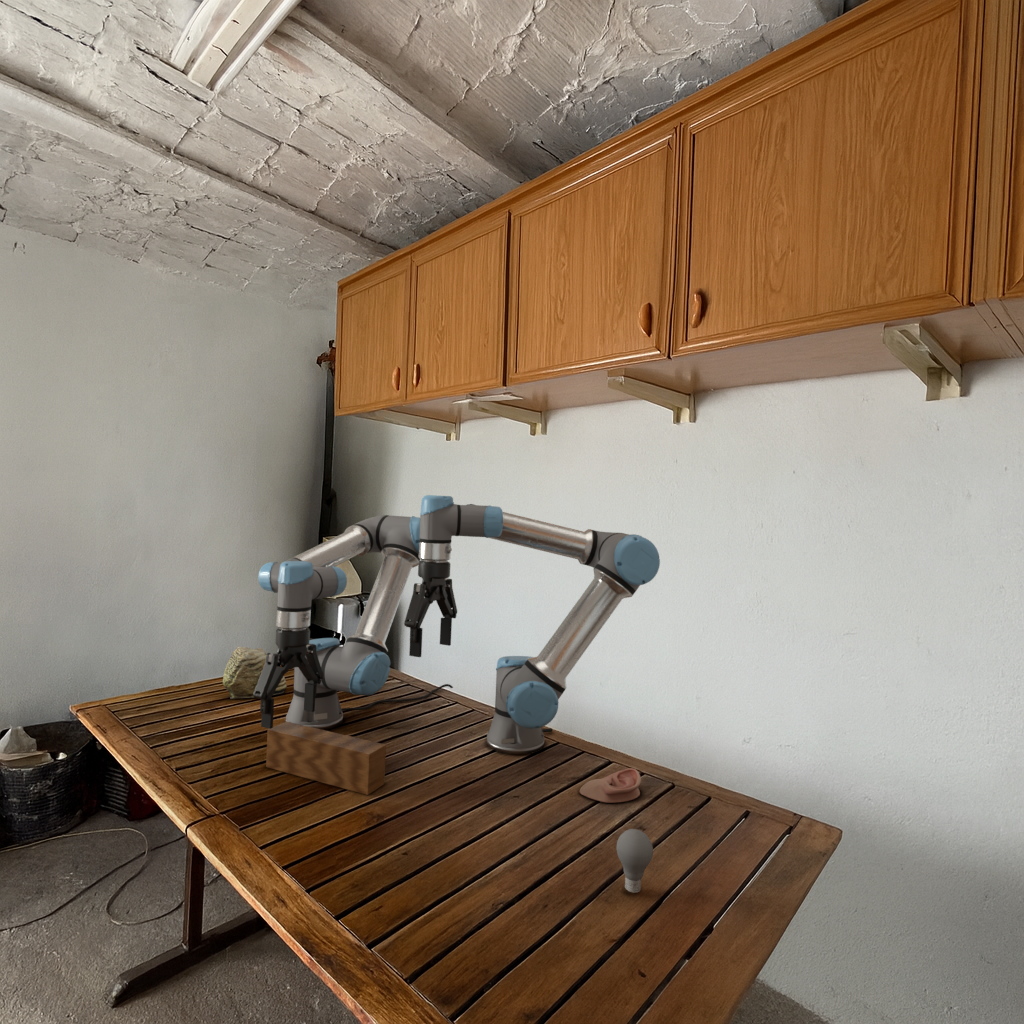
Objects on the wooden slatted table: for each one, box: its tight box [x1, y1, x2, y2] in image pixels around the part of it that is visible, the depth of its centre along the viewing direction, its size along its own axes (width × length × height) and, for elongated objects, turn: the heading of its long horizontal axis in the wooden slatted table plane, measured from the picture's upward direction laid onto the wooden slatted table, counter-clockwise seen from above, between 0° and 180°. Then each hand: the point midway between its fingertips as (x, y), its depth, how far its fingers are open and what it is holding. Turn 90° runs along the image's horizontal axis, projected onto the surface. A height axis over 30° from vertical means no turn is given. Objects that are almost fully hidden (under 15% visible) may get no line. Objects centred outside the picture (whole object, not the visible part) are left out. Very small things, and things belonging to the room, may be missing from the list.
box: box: [265, 721, 387, 796], centre depth 144 cm, size 29×6×9 cm, turn 66°
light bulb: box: [615, 828, 654, 894], centre depth 106 cm, size 6×6×10 cm
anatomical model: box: [579, 767, 642, 804], centre depth 142 cm, size 13×4×12 cm
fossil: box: [222, 646, 288, 699], centre depth 198 cm, size 9×18×15 cm, turn 132°
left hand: (288, 718), depth 148 cm, fingers open, 13 cm apart
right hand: (430, 650), depth 150 cm, fingers open, 13 cm apart
